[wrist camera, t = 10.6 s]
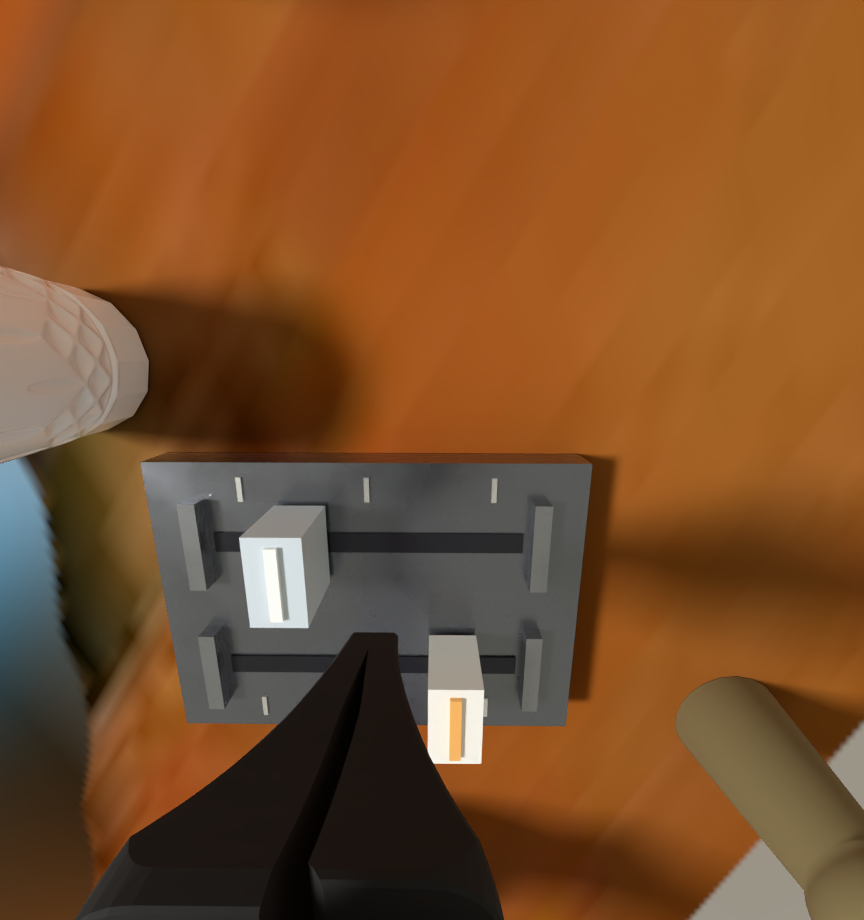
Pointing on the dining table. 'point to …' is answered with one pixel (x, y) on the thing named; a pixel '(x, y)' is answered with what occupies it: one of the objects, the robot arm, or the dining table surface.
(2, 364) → the white cup
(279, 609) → the fader bluegrey
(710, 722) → the tan bulb-headed cylinder
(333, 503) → the console
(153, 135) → the dining table surface
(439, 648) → the fader cream
